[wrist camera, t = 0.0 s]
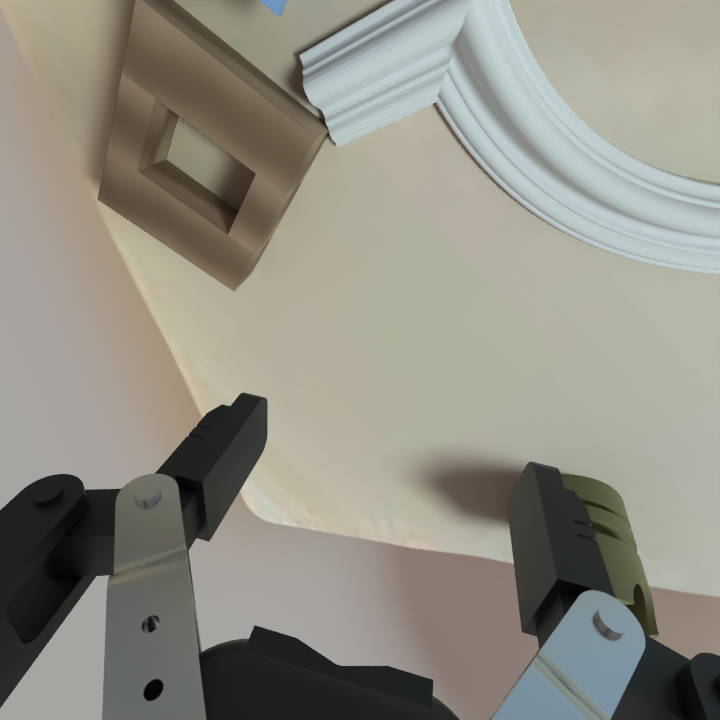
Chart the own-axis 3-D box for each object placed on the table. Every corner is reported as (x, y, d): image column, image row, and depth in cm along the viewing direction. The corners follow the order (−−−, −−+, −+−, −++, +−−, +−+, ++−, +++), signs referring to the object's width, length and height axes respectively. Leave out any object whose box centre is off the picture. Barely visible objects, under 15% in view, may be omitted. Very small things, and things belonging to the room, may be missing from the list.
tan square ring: (172, -1, 26) (136, -5, 23) (331, 128, 28) (315, 138, 25) (127, 186, 34) (97, 199, 32) (252, 272, 37) (234, 291, 34)
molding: (292, 118, 29) (276, 126, 27) (350, -133, 21) (335, -150, 19) (795, 369, 32) (818, 395, 30) (1016, 232, 24) (1070, 254, 22)
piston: (631, 586, 32) (679, 648, 36) (598, 463, 41) (639, 524, 46) (497, 598, 38) (552, 650, 42) (494, 488, 47) (539, 540, 52)
